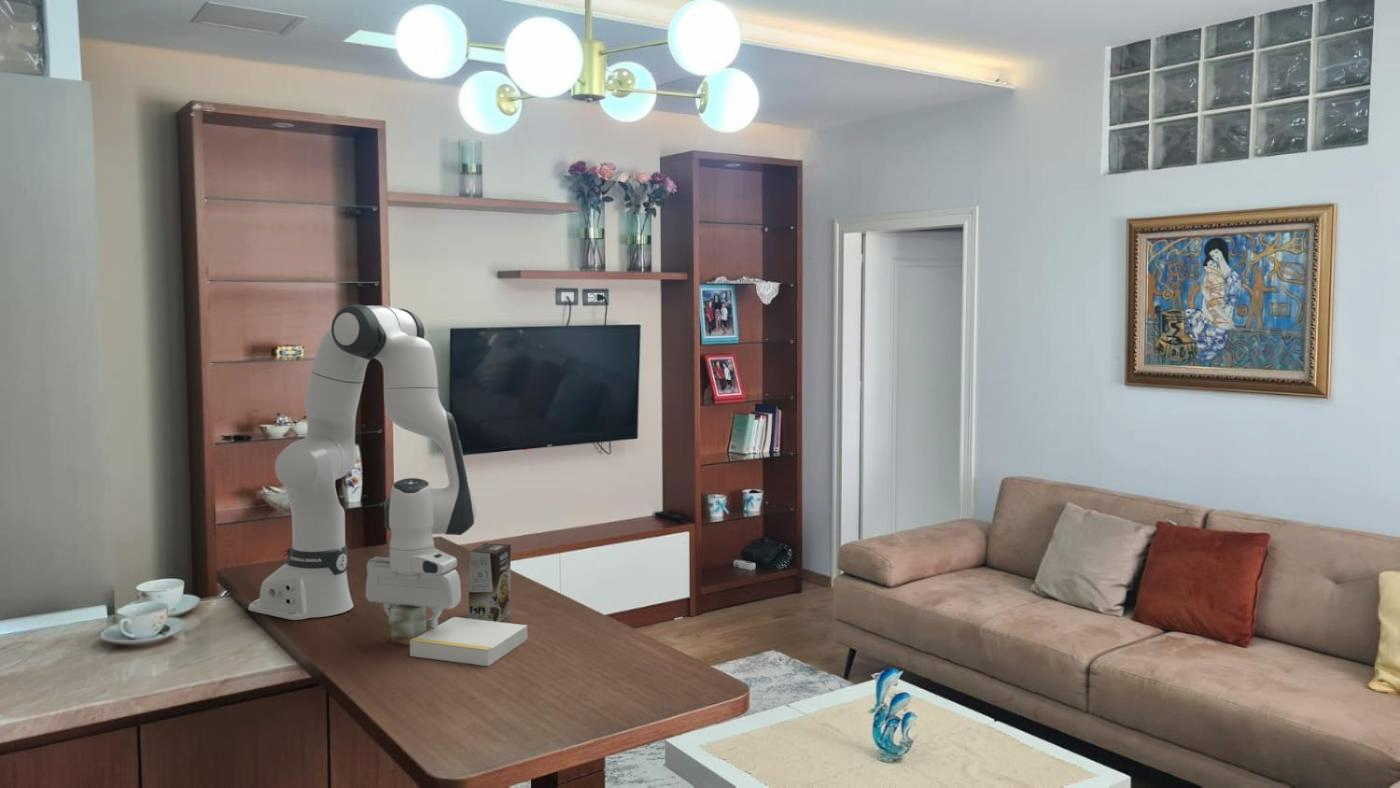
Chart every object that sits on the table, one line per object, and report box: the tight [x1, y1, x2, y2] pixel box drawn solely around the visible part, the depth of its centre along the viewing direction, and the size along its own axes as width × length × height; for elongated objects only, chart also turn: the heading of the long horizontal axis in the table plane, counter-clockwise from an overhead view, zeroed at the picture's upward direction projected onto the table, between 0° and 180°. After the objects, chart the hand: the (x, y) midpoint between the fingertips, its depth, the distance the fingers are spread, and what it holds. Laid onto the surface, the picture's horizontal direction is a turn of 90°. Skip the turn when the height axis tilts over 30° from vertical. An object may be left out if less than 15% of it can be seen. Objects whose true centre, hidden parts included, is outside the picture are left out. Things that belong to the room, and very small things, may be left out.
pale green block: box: [390, 604, 427, 646], centre depth 219 cm, size 5×5×7 cm
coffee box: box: [468, 542, 512, 622], centre depth 234 cm, size 9×6×16 cm
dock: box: [409, 616, 528, 667], centre depth 216 cm, size 17×17×3 cm
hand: (413, 625), depth 220 cm, fingers open, 7 cm apart
